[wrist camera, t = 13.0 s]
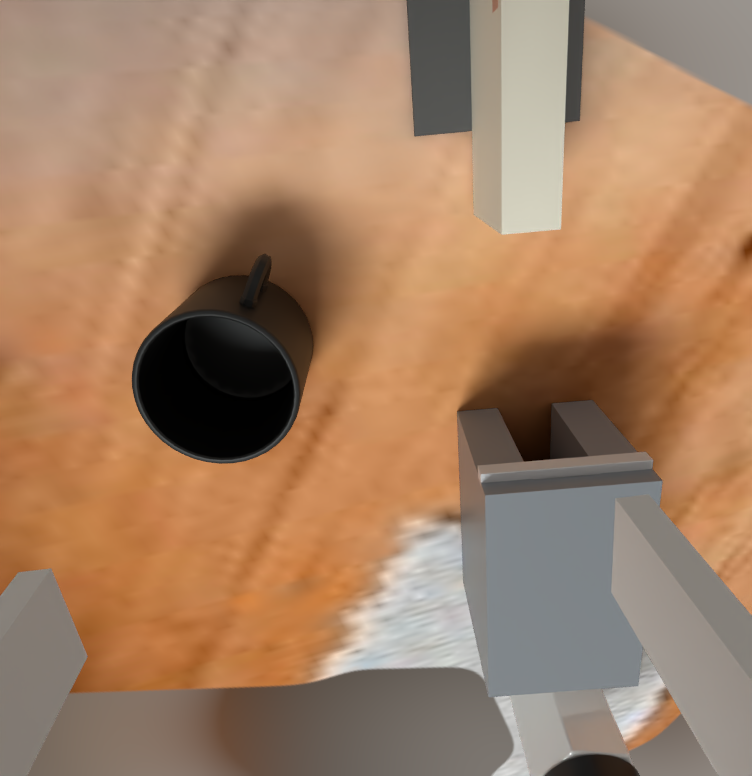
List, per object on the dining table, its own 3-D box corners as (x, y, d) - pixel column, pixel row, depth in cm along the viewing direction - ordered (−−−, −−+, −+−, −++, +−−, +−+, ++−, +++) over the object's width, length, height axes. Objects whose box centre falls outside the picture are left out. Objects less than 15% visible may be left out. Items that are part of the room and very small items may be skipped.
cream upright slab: (473, 214, 38) (501, 234, 30) (468, -27, 33) (500, -79, 25) (520, 210, 38) (561, 229, 30) (523, -33, 33) (572, -86, 25)
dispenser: (463, 582, 50) (488, 697, 40) (456, 404, 44) (484, 486, 33) (581, 572, 50) (638, 685, 40) (592, 392, 43) (663, 471, 33)
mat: (414, 136, 36) (415, 136, 36) (400, -106, 32) (401, -109, 31) (577, 121, 36) (579, 120, 36) (587, -125, 32) (590, -128, 31)
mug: (344, 267, 40) (339, 302, 31) (289, 418, 44) (271, 484, 36) (207, 215, 38) (163, 237, 30) (164, 376, 42) (114, 435, 34)
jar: (495, 666, 54) (529, 802, 43) (582, 638, 53) (639, 771, 42) (525, 728, 57) (563, 870, 46) (607, 704, 56) (667, 843, 45)
